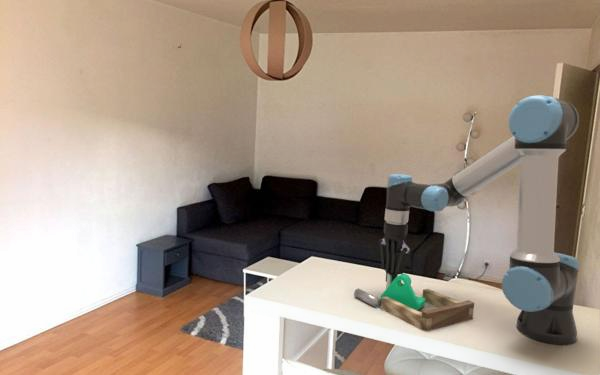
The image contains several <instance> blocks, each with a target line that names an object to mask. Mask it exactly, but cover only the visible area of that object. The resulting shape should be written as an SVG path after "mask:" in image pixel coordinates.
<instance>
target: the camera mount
mask: <svg viewBox="0 0 600 375" xmlns="http://www.w3.org/2000/svg"><path fill="white" fill-rule="evenodd" d="M382 297H389V298H391V299H393V300H395V301H397V302H399V303H402V304H404V305H406V306H408V307H410V308H412V309H414V310H416V311H419V310H420V309H421V308H422V307H423V306H425V304H426V301H425V298H422V297H421V296H417V295H416V293H415V291H414V289H413V287H412V279H411V276H409V275H408V274H406V273H403V274H398V276H397V277H396V278H395V279H394V280H393V282H392V283H391V284H390V285H389V286H388V288H387V289H386V288H385V290H384V291H383V293H382V294H380V299H381V300H382Z"/></svg>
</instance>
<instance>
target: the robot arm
mask: <svg viewBox="0 0 600 375" xmlns="http://www.w3.org/2000/svg"><path fill="white" fill-rule="evenodd" d="M579 122H580V116H579V112H578V111H577V109H576V107H575V106H574V105H573V104H572V103H571V102H569V101H567V100H565V99H562V98H557V97H554V96H550V95H546V94H544V95H542V94H538V95H537V94H535V95H531V96H527V97H525V98H523V99H521V100H520V101H518V103H516V104H515V106H514V107H513V108H512V109H511V112H510V113H509V117H508V128H509V132H510V133H511V135H512V137H510V138H509V139H507V140H506V141H504V142H502V143H501V144H499V145H498V146H496V147H495V148H494V149H492V150H491V151H489V152H488V153H486V154H485V155H483V156H482V157H480V158H479V159H478V160H476V161H474V162H473V163H471V164H469V165H468V166H467V167H466V168H464V169H462V170H461V171H460V172H458V173H456V174H455V175H453V176H452V177H450V178H449V179H448V180H446V181H445V182H443V183H432V184H425V183H415V182H413V176H411V175H408V174H401V173H392V174H390V175H389V176H388V178H387V186H386V199H385V200H386V203H385V211H384V218H383V219H384V223H383V233H384V236H383V237H382V239H378V242H377V243H378V245H379V250H380V253H379V254H380V262H381V264H380V266H381V270H384V272H385V283H386V284H385V286H386V287H385V290H386V289H387V288H388V286H389V285H390V284H391V283H392V282H393V280H394V279H395V278H396V277H397V276H399V275H401V274H404V271H405V267H406V264H407V260H408V257H409V254H410V253H411V252H412V248H411V247H410V246H408V245H407V244H406V243H407V241H406V237H407V236H408V229H409V225H408V222H409V216H410V215H409V214H410V208H416V209H422V210H426V211H429V212H442V211H443V210H444V209H445V208H447V207H455V206H458V205H460V204H462V203H463V202H464V201H465V199H466V198H467V197H469V195H471V194H472V195H473V194H474V193H475V192H477V191H478V190H479V189H481V188H483V187H485V186H486V185H487V184H490V183H492V181H494V180H496V179H497V178H499V177H501V176H502V175H503V174H506V173H507V172H508V171H510V170H512V169H514V168H515V167H517V166H518V165H519V167H520V168H519V188H518V210H517V211H518V212H517V229H516V230H517V231H516V232H517V233H516V248H515V249H514V250H513V251H512V252H511V253H510V254H509V264H508V265H509V267H508V268H509V269H508V270H507V271H505V273H504V275H503V277H502V280H501V290H502V293H503V295H504V297H505V299H506V300H508V302H509V303H510V304H511V305H512V306H513V307H515V308H517V309H519V310H520V312H519V315H518V316H517V319H516V324H515V325H516V326H515V327H516V329H517V330H518V332H520V333H521V334H523V335H524V336H526V337H529V338H531V339H533V340H537V341H539V342H544V343H547V344H554V345H571V344H574V343H576V341H577V339H578V338H577V337H578V330H577V325H576V321H575V316H574V312H573V310H574V304H575V296H576V288H577V282H578V275H579V273H580V272H579V271H580V269H579V265H580V263H579V262H580V261H579V260H578V259H577V258H576V257H574V256H571V255H568V254H565V253H559V252H555V237H556V236H555V235H556V234H555V233H556V216H557V215H556V212H557V198H558V197H557V196H558V194H557V192H558V189H557V188H558V173H559V159H560V156H561V155H562V154H563V153H564V152H566V151H567V140H569V139H570V138H571V137H572V136H574V134H575V133H576V131H577V129H578V127H579V124H580V123H579Z"/></svg>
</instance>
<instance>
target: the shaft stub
mask: <svg viewBox="0 0 600 375" xmlns="http://www.w3.org/2000/svg"><path fill="white" fill-rule="evenodd" d="M353 296H354V298H356V299H358V300H360V301H362V302H363V303H365V304H368V305H370V306H371V307H374V308H375V309H378V308H381V302H382V300H381V298H380V297H378V296H375V295H374V294H371V293H369V292H367V291H365V290H363V289H360V288H356V289H355V290H354V292H353Z"/></svg>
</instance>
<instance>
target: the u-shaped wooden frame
mask: <svg viewBox="0 0 600 375" xmlns="http://www.w3.org/2000/svg"><path fill="white" fill-rule="evenodd" d="M422 298H425V303H426V302H427V303H428V304H431V305H433V306H435V308H429V309H426V310H421V311H419V310H414V309H412V308H410V307H408V306H406V305H404V304H402V303H399V302H397V301H395V300H393V299H391V298H389V297H382V302H381V307H380V309H382V310H383V311H385V312H386V313H388V314H391V315H393V316H395V317H396V318H399V319H400V320H403V321H404V322H407V323H409V324H410V325H413V326H415V327H417V328H418V329H420V330H422V331H425V332H428V331H432V330H436V329H439V328H444V327H447V326H450V325H451V326H452V325H455V324H458V323H462V322H467V321H470V320H473V319H474V318H473V316H474V312H475V310H474V309H475V302H474V301H471V300H465V301H458V300H457V299H455V298H452V297H449V296H447V295H445V294H441V293H440V292H437V291H434V290H432V289H430V288H424V289H422Z"/></svg>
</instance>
